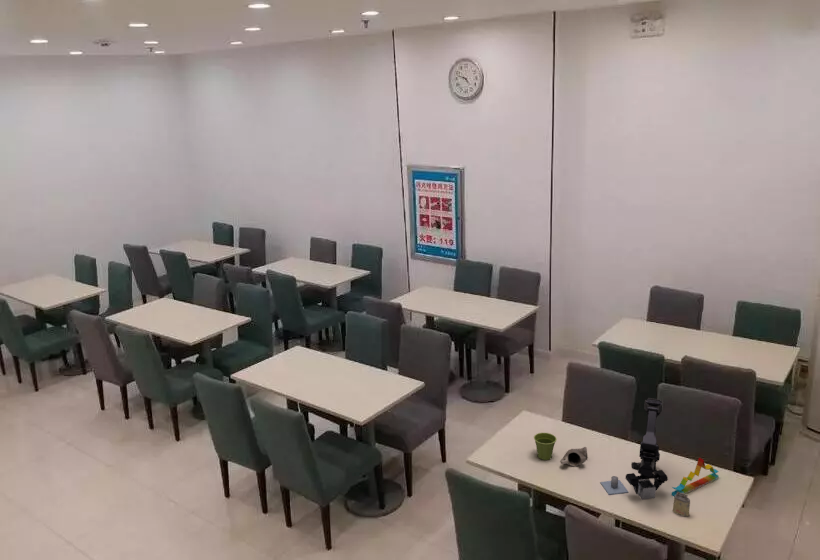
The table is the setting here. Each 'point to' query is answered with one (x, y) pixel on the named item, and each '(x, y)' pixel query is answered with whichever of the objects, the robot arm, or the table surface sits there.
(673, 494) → the multicoloured triangular frame
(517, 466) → the table surface
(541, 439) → the plant pot
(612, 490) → the grey peg stand
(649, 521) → the table surface
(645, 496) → the collar
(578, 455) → the animal shaped planter
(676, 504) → the old metal can
